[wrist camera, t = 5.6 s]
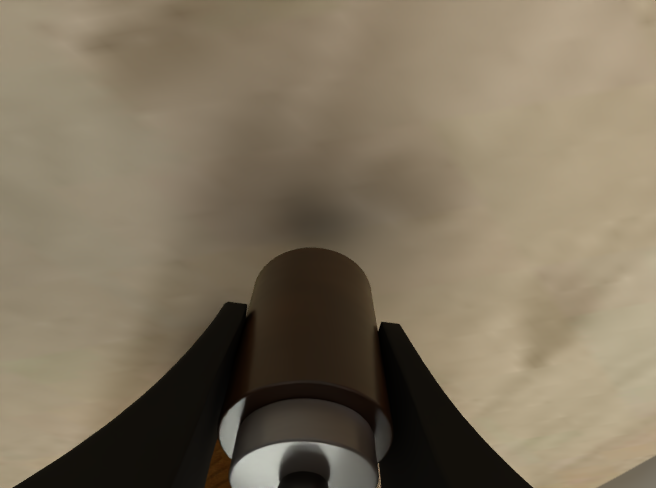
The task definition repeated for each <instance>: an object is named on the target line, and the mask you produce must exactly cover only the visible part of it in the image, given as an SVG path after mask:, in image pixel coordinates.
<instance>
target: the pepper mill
mask: <svg viewBox="0 0 656 488" xmlns="http://www.w3.org/2000/svg"><path fill="white" fill-rule="evenodd" d="M217 435H218V440H219V443H220V445H221V447H222V449H223V451H224V452H225V454H226V455H227V456H228V457H229V458H230V459H231V464H230V469H229V482H230V485H231V488H376V487H377V484H378V480H379V473H378V465H377V464H378V463H379V462H380V461H381V460H382V459H383V458H384V457H385V456H386V454H387V453H388V451H389V450H390V448H391V445H392V442H393V438H394V427H393V420H392V414H391V408H390V402H389V396H388V390H387V384H386V378H385V372H384V366H383V360H382V354H381V348H380V341H379V335H378V329H377V323H376V317H375V311H374V305H373V299H372V293H371V287H370V284H369V281H368V279H367V276H366V275H365V273H364V272H363V270H362V269H361V268H360V267H359V266H358V265H357V264H356V263H355V262H354V261H352V260H351V259H349V258H348V257H346V256H345V255H342V254H340V253H338V252H335V251H332V250H328V249H323V248H300V249H295V250H291V251H288V252H285V253H283V254H281V255H279V256H277V257H275V258H274V259H273V260H271V261H270V262H269V263H268V264H267V265H266V266H264V268H263V269H262V270H261V272H260V273H259V275H258V277H257V279H256V282H255V285H254V289H253V293H252V296H251V300H250V304H249V308H248V311H247V315H246V320H245V324H244V327H243V331H242V335H241V339H240V342H239V346H238V349H237V353H236V356H235V360H234V364H233V368H232V371H231V375H230V379H229V383H228V386H227V390H226V394H225V398H224V402H223V405H222V409H221V413H220V417H219V420H218V426H217Z"/></svg>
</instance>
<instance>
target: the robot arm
mask: <svg viewBox="0 0 656 488" xmlns="http://www.w3.org/2000/svg"><path fill="white" fill-rule="evenodd" d="M246 312H247V304H241V303H233V302H227V303H225V304H224V305H223V307H222V309H221V310H220V312H219V313H218V314H217V316H216V317H215V319H214V320H213V321H212V323H211V324H210V325H209V326H208V328H207V329H206V330H205V332H204V333H203V334H202V335H201V336H200V337H199V339H198V340H197V341H196V342H195V343H194V344H193V346H192V347H191V348H190V349H189V350H188V351H187V352H186V354H185V355H184V356H183V357H182V358H181V359H180V360H179V361H178V362H177V363H176V364H175V365H174V366H173V367H172V368H171V369H170V370H169V371H168V372H167V373H166V374H165V375H164V376H163V377H162V378H161V379H160V380H159V381H158V382H157V383H156V384H155V385H154V386H152V387H151V388H150V389H149V390H148V391H147V392H146V393H145V394H144V395H142V396H141V397H140V398H139V399H138V400H137V401H135V402H134V403H133V404H132V405H130V406H129V407H128V408H127V409H126V410H124V411H123V412H122V413H121V414H120V415H118V416H117V417H116V418H115V419H113V420H112V421H111V422H109V423H108V424H107V425H105V426H104V427H103V428H101V429H100V430H99V431H97V432H96V433H94V434H93V435H92V436H90V437H89V438H87V439H86V440H85V441H83V442H82V443H80V444H79V445H78V446H76V447H75V448H74V449H72V450H71V451H69V452H68V453H66V454H65V455H63V456H62V457H60V458H59V459H57V460H56V461H54V462H53V463H51V464H49V465H48V466H46V467H45V468H43V469H42V470H40V471H38V472H37V473H35V474H34V475H32V476H31V477H29V478H27V479H26V480H24V481H23V482H21V483H19V484H18V485H16V486H15V487H13V488H204V487H205V483H206V479H207V475H208V470H209V466H210V462H211V458H212V455H213V451H214V448H215V445H216V442H217V439H218V435H217V426H218V420H219V417H220V413H221V409H222V405H223V402H224V398H225V394H226V390H227V386H228V383H229V379H230V375H231V371H232V368H233V364H234V360H235V356H236V353H237V349H238V346H239V342H240V339H241V335H242V331H243V327H244V324H245V320H246ZM378 335H379V341H380V348H381V354H382V360H383V366H384V372H385V378H386V384H387V390H388V396H389V402H390V408H391V414H392V420H393V427H394V438H393V442H392V445H391V448H390V450H389V451H388V453H387V454H386V456H385V457H384V458H383V459H382V460H381V461H380V462H379V468H380V476H381V488H533V487H532V486H531V485H529V484H528V483H527V482H526V481H525V480H524V479H523V478H522V477H521V476H520V475H519V474H517V473H516V472H515V471H514V470H513V469H512V468H511V467H510V466H509V465H508V464H507V463H506V462H505V461H504V460H503V459H502V458H501V457H500V456H499V455H498V454H497V453H496V452H495V451H494V450H493V449H492V448H491V447H490V446H489V445H488V444H487V443H486V442H485V440H484V439H483V438H482V437H481V436H480V435H479V434H478V433H477V432H476V431H475V429H474V428H473V427H472V426H471V425H470V424H469V423H468V421H467V420H466V419H465V418H464V417H463V416H462V414H461V413H460V412H459V411H458V410H457V408H456V407H455V406H454V404H453V403H452V402H451V400H450V399H449V398H448V397H447V395H446V394H445V393H444V391H443V390H442V388H441V387H440V386H439V384H438V383H437V381H436V380H435V379H434V377H433V376H432V374H431V373H430V371H429V370H428V368H427V367H426V365H425V364H424V362H423V361H422V359H421V358H420V356H419V355H418V353H417V351H416V350H415V348H414V347H413V345H412V343H411V342H410V340H409V339H408V337H407V335H406V334H405V332H404V330H403V329H402V327H401V326H400V324H395V323H387V322H381V325H380V328H379V331H378Z"/></svg>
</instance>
